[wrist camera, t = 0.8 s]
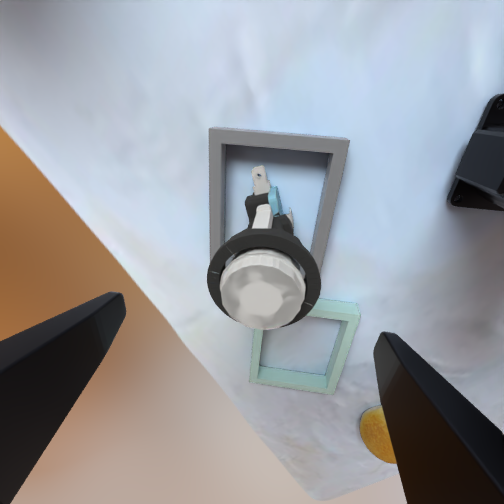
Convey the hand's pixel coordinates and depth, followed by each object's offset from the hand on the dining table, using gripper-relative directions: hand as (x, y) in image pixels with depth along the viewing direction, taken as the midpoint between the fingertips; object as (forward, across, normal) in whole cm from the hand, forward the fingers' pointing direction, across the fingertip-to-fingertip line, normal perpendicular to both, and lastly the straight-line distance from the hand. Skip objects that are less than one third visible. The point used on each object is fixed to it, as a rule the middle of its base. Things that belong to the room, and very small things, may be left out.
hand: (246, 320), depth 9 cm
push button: (+12, 0, 0) cm, 13 cm away
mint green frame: (+12, -4, +13) cm, 19 cm away
